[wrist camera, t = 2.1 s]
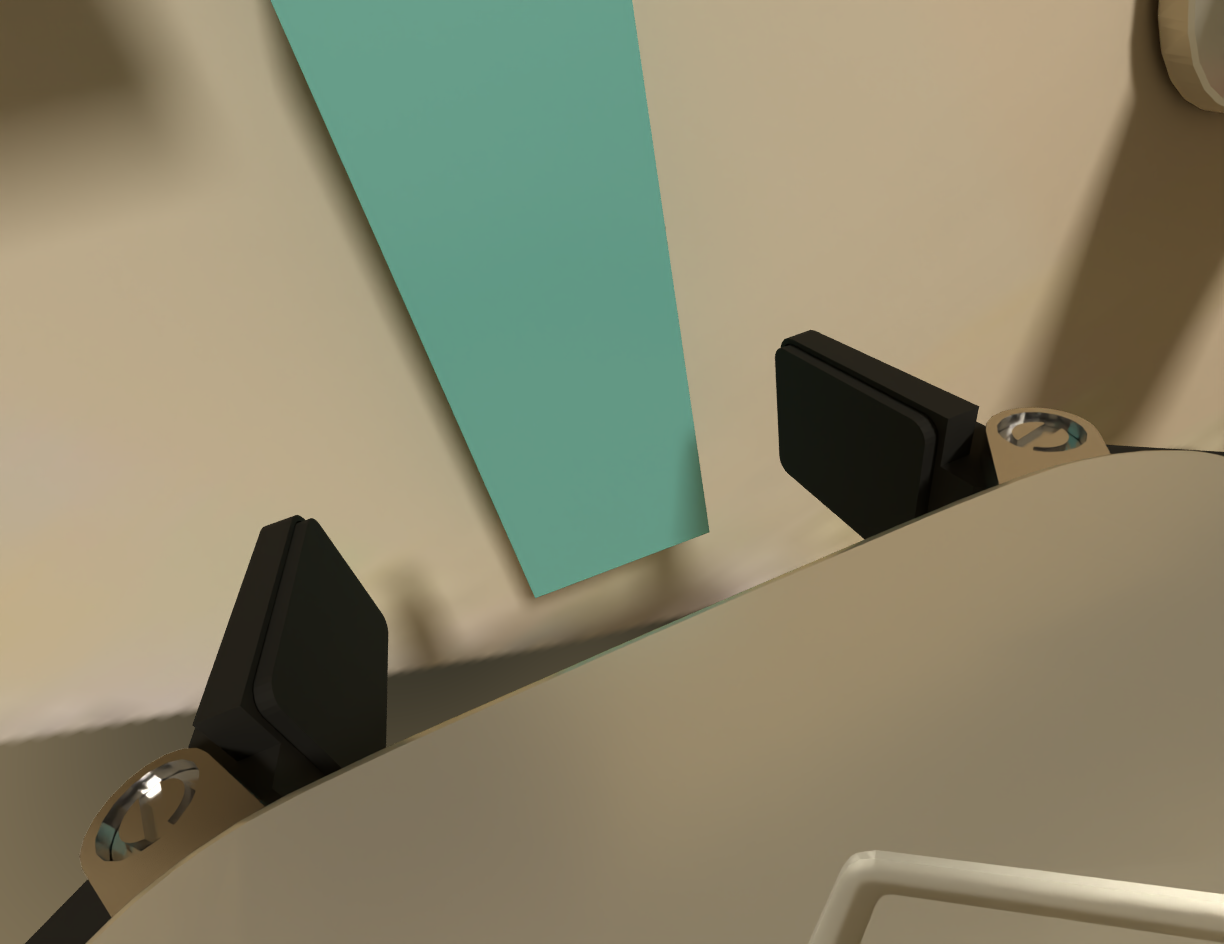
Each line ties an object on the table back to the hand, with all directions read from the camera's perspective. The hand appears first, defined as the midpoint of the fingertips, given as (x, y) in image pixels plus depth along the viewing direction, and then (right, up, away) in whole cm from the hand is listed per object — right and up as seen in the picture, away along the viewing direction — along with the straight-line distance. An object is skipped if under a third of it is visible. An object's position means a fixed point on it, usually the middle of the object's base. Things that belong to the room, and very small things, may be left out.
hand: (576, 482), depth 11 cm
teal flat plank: (-2, +6, +5) cm, 8 cm away
